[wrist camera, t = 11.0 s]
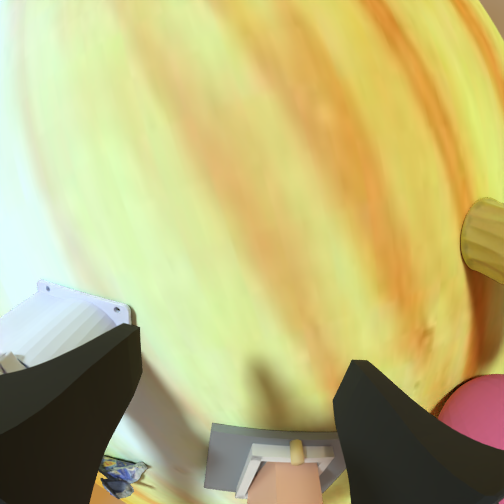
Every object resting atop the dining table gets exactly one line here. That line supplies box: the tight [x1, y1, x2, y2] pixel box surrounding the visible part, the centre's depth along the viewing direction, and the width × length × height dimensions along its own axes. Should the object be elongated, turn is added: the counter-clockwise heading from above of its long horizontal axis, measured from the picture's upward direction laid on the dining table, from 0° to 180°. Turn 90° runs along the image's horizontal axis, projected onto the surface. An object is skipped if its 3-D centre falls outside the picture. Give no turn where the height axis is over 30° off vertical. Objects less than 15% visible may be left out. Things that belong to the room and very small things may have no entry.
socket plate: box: [204, 423, 346, 499], centre depth 22 cm, size 16×15×4 cm
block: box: [247, 462, 323, 504], centre depth 20 cm, size 9×4×7 cm, turn 162°
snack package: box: [99, 456, 148, 499], centre depth 25 cm, size 12×7×12 cm
